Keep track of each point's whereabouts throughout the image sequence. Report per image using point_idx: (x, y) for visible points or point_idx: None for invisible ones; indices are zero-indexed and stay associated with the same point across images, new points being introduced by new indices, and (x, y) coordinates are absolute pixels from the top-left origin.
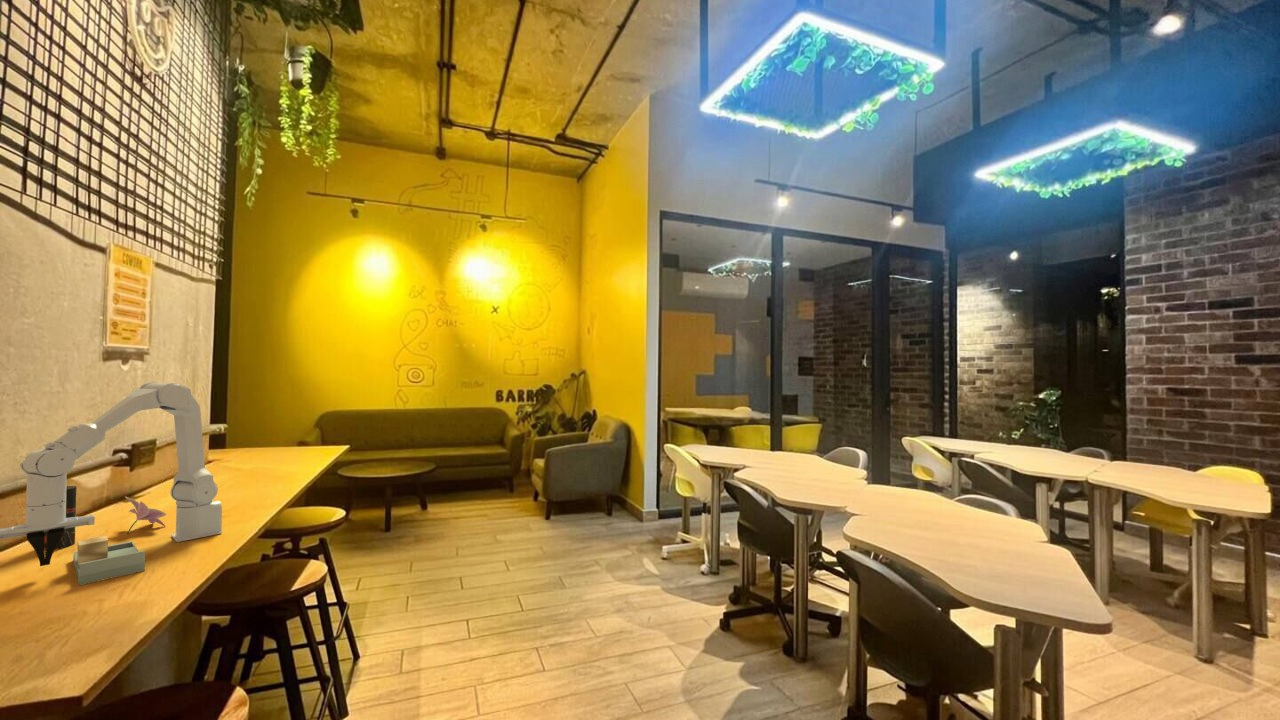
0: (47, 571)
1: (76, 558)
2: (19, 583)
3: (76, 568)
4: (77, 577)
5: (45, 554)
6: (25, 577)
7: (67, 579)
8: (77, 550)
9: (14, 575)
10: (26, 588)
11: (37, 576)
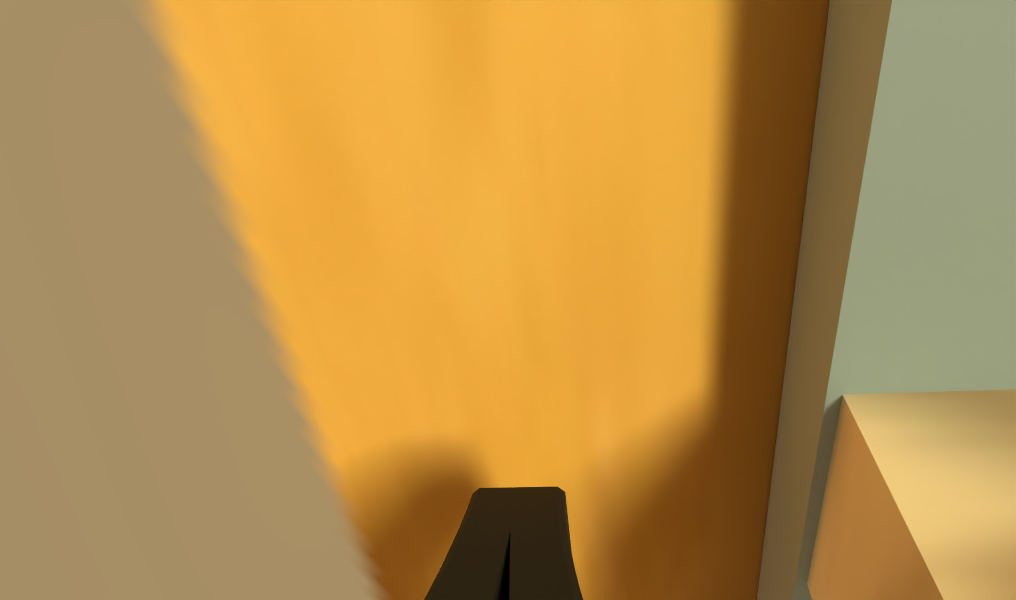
0: (537, 172)
1: (856, 303)
2: (366, 416)
3: (787, 494)
4: (759, 582)
5: (511, 588)
6: (362, 253)
7: (694, 563)
8: (903, 524)
9: (209, 58)
10: None
11: (468, 305)
